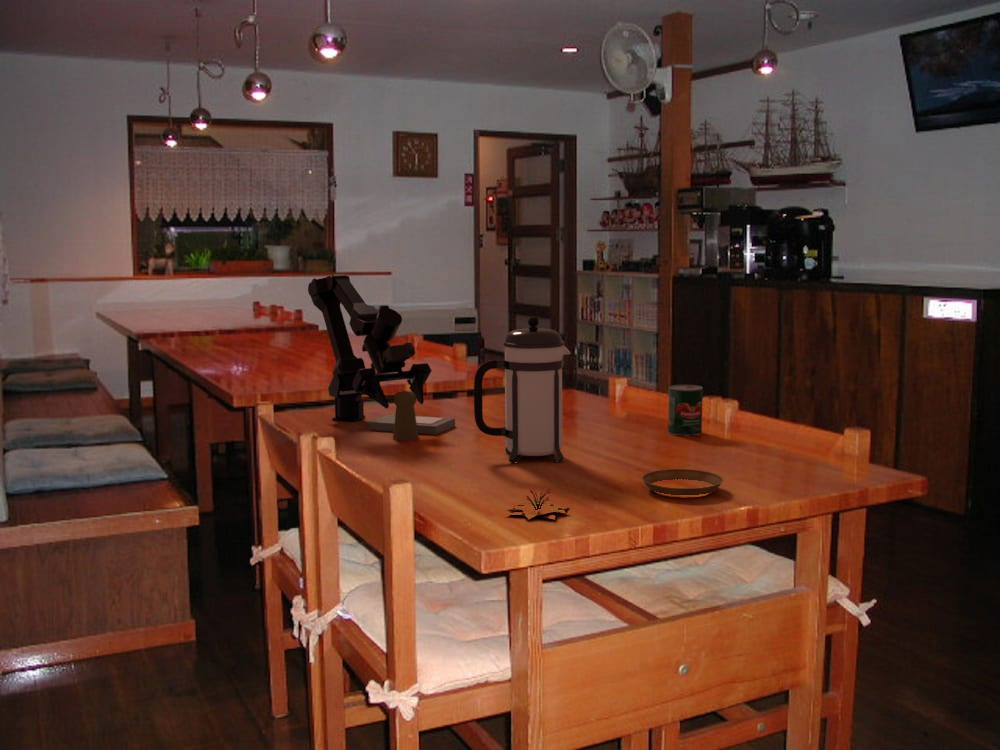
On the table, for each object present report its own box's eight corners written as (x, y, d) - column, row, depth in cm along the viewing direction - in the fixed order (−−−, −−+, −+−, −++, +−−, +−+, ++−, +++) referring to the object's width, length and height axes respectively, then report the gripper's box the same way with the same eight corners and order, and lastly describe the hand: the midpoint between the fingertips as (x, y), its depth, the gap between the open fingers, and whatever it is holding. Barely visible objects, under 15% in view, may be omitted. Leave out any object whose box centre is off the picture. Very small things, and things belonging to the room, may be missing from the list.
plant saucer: (670, 506, 176) (670, 491, 176) (626, 487, 190) (626, 473, 189) (739, 496, 182) (739, 482, 182) (692, 478, 196) (693, 465, 195)
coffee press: (529, 446, 225) (528, 312, 221) (583, 457, 214) (583, 316, 210) (472, 458, 213) (470, 317, 209) (526, 471, 202) (526, 321, 198)
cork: (417, 440, 232) (416, 393, 231) (391, 441, 232) (390, 393, 231) (420, 435, 238) (419, 389, 237) (394, 435, 238) (393, 389, 237)
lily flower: (493, 521, 169) (492, 494, 168) (517, 503, 180) (517, 478, 179) (561, 528, 165) (561, 501, 164) (582, 509, 176) (582, 484, 175)
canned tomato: (687, 437, 233) (688, 390, 231) (661, 432, 239) (661, 387, 237) (708, 433, 238) (709, 387, 236) (682, 428, 244) (682, 383, 242)
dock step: (369, 429, 246) (368, 421, 245) (390, 421, 256) (390, 413, 255) (436, 434, 239) (436, 425, 239) (455, 426, 249) (454, 417, 249)
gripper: (356, 334, 231) (380, 387, 224) (426, 329, 242) (451, 380, 234) (342, 365, 239) (365, 417, 231) (411, 359, 249) (435, 409, 242)
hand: (405, 405), depth 234 cm, fingers open, 9 cm apart
